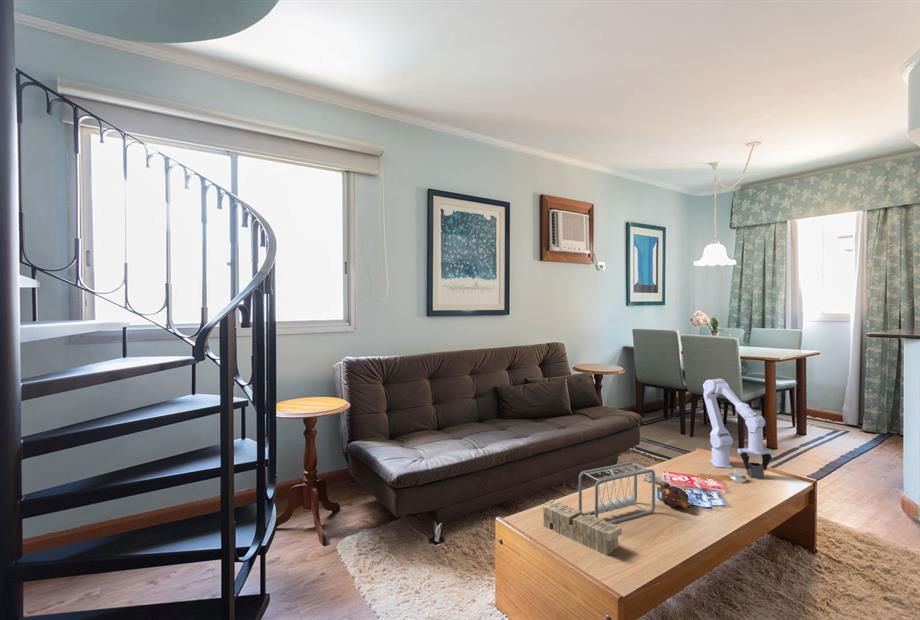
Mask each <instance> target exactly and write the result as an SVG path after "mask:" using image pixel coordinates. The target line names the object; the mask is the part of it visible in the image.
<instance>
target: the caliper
mask: <svg viewBox="0 0 920 620" xmlns="http://www.w3.org/2000/svg"><path fill="white" fill-rule="evenodd" d="M647 477H648V479H647ZM643 481H644V482H646V481H647V483H650V482H651V481H652V473H651V472H649V473H645V474H643ZM659 482H660V484H661V483H662V482H667V483H669V485H670V486H675V487H678V488H680V489H682V490H683V491H685V492H688V491H687V489H683V488H682V487H680V486H678V485H675V484H674V483H671V482H670V481H667V480H666V479H663V478H661V476H659V475H656V474H655V483H659Z"/></svg>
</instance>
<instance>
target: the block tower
mask: <svg viewBox="0 0 920 620" xmlns="http://www.w3.org/2000/svg"><path fill="white" fill-rule="evenodd" d="M542 508H543V527H545V528H547V529H550V530H551V529H552V531H554V532H555V533H557V534H560V535H562V536H564V537H566V538H568V539H571V540H573V541H574V542H576V543H578V544H581V545H583V546H585V547H588V548H589V549H592V550H594V551H596V552H597V553H600V554H602V555H604V556H608V555H609V554H611V553H612V552H614V551H615V550H616V549H618V548H619V536H622V534H623V528H622V527H621V526H619V525H618V524H617V523H614V524H612V523H609V522H608V521H606V520H604V519H601V518H599V517H598V518H597V517H595V515H594V516H593V514H591V515H590V514H588V515H586V516H582V515H581V511H579V509H576V508H574V507H571V506H568V505H567V504H564V503H561V502H559V501H557V500H554V499H550V500H549V501H546V502H545V503H544V506H543V507H542Z"/></svg>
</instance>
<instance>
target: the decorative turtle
mask: <svg viewBox="0 0 920 620" xmlns="http://www.w3.org/2000/svg"><path fill="white" fill-rule="evenodd" d="M659 487H660V491H661V493H660V495H661V499H662V502H663V504H665V505H667V504H668V505H669V507H670V508H671V509H672V510H673V509H676V507H677V506H678V507H679V506H680V507H681V508H683V509H684V510H690V509H691V508H692V504H691V503H690V502H689V500H690V499H689V495H688V494H686V492H685V491H683V490H682V489H683V488H682V489H680V488H681V487H680V488H678V487H679V486H678V487H675V486H670V485H669V483H667V482H662V483H661V482H660V486H659Z"/></svg>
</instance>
